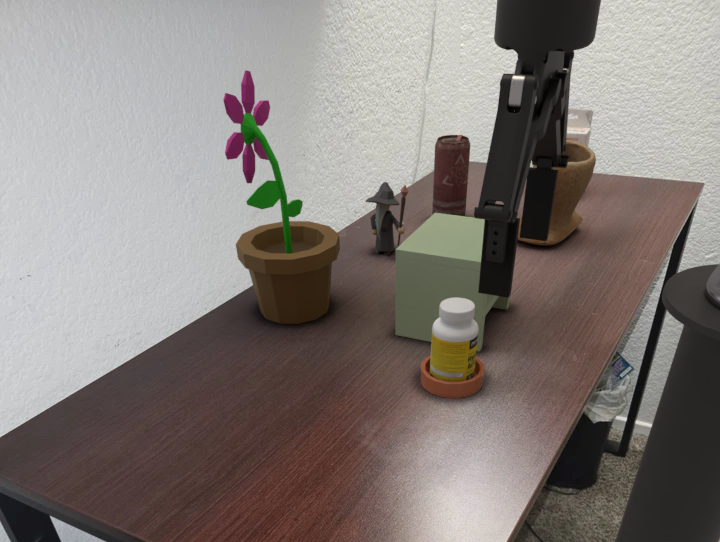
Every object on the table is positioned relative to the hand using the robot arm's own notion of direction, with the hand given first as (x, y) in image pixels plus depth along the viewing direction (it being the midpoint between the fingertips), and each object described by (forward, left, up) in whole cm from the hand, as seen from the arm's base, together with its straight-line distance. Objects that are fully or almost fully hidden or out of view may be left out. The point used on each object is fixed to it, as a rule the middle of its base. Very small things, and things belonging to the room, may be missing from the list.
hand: (515, 264), depth 62 cm
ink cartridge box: (+12, -80, -19) cm, 83 cm away
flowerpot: (+36, -16, -19) cm, 43 cm away
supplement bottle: (+8, -6, -18) cm, 21 cm away
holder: (+8, -6, -18) cm, 21 cm away
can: (+27, -58, -19) cm, 67 cm away
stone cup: (+8, -57, -19) cm, 61 cm away
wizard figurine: (+31, -40, -19) cm, 54 cm away
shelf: (+13, -21, -18) cm, 31 cm away
